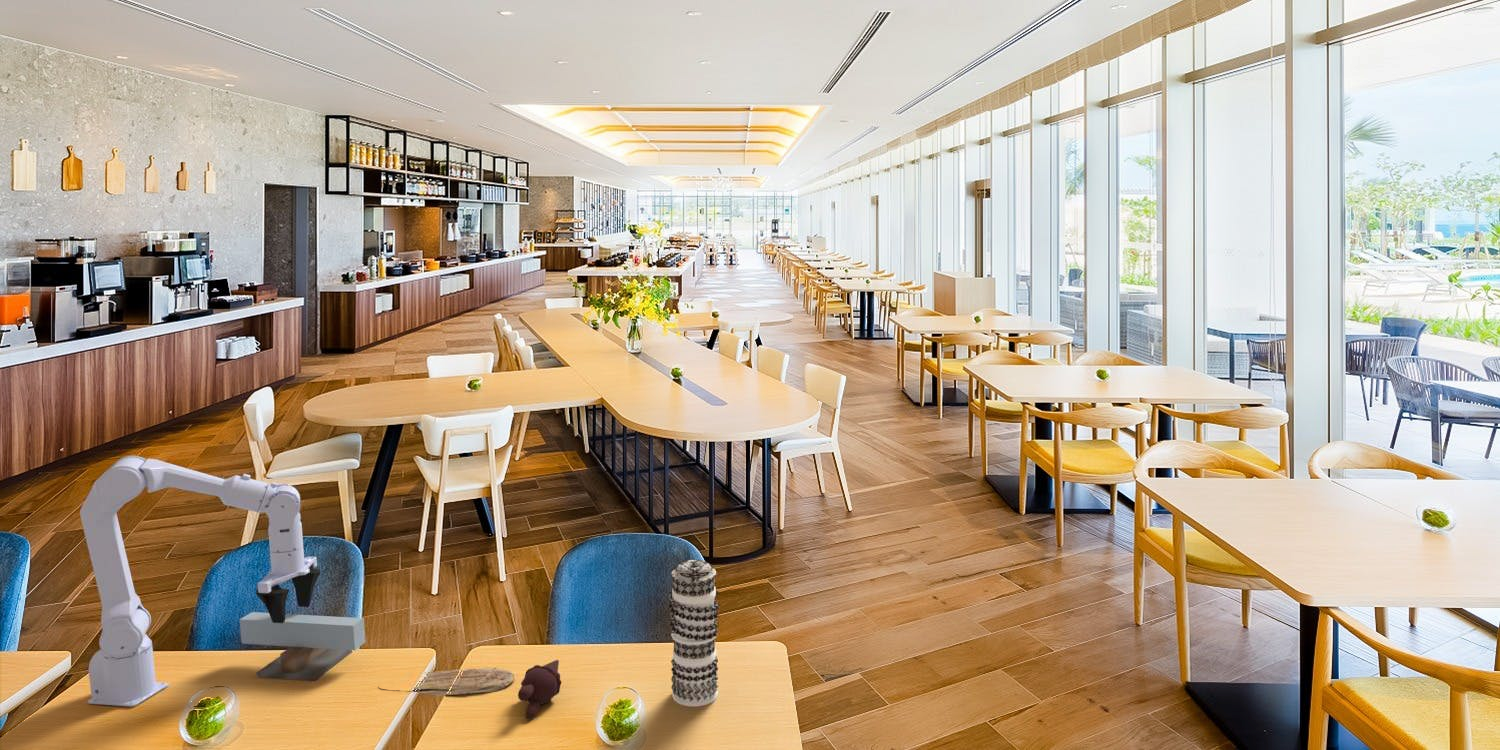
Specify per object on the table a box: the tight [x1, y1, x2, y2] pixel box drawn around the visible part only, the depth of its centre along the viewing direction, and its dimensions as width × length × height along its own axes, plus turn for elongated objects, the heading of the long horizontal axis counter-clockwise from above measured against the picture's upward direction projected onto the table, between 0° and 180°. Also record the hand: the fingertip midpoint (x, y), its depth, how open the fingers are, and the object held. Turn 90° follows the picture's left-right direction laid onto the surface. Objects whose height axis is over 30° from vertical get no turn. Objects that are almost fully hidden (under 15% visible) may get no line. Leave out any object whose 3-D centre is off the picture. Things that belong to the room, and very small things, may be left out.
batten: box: [239, 611, 366, 651], centre depth 164 cm, size 24×4×5 cm, turn 83°
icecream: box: [517, 659, 562, 721], centre depth 151 cm, size 7×7×15 cm
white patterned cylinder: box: [667, 559, 720, 708], centre depth 152 cm, size 9×9×25 cm
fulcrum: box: [256, 646, 353, 682], centre depth 165 cm, size 12×12×4 cm
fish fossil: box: [413, 667, 515, 697], centre depth 159 cm, size 26×10×1 cm, turn 96°
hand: (291, 614), depth 164 cm, fingers open, 7 cm apart
